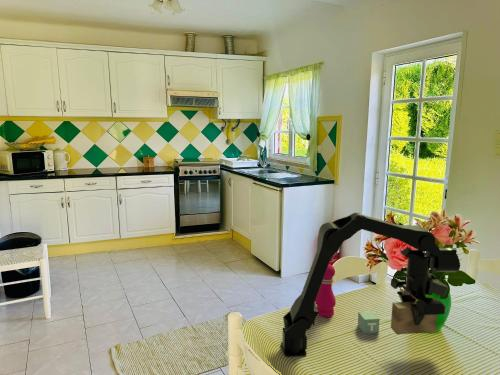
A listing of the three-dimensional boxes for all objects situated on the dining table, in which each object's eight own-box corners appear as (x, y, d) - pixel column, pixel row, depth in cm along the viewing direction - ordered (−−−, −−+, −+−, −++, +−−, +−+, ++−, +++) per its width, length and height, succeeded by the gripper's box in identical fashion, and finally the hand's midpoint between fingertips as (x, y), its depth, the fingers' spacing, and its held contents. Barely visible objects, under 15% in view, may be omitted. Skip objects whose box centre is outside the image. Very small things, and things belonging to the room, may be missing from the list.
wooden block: (396, 334, 101) (398, 308, 100) (390, 327, 104) (392, 302, 103) (435, 332, 102) (438, 306, 101) (428, 325, 105) (431, 300, 104)
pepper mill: (330, 320, 121) (332, 265, 118) (311, 313, 125) (312, 260, 122) (338, 311, 127) (340, 259, 123) (320, 306, 131) (321, 254, 128)
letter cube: (364, 334, 113) (364, 319, 112) (357, 325, 118) (358, 311, 117) (378, 333, 113) (379, 319, 113) (371, 324, 118) (372, 310, 118)
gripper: (467, 283, 92) (461, 338, 94) (425, 258, 110) (421, 304, 113) (427, 285, 91) (422, 340, 93) (391, 259, 109) (388, 306, 112)
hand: (413, 321), depth 103 cm, fingers closed on wooden block, 3 cm apart
